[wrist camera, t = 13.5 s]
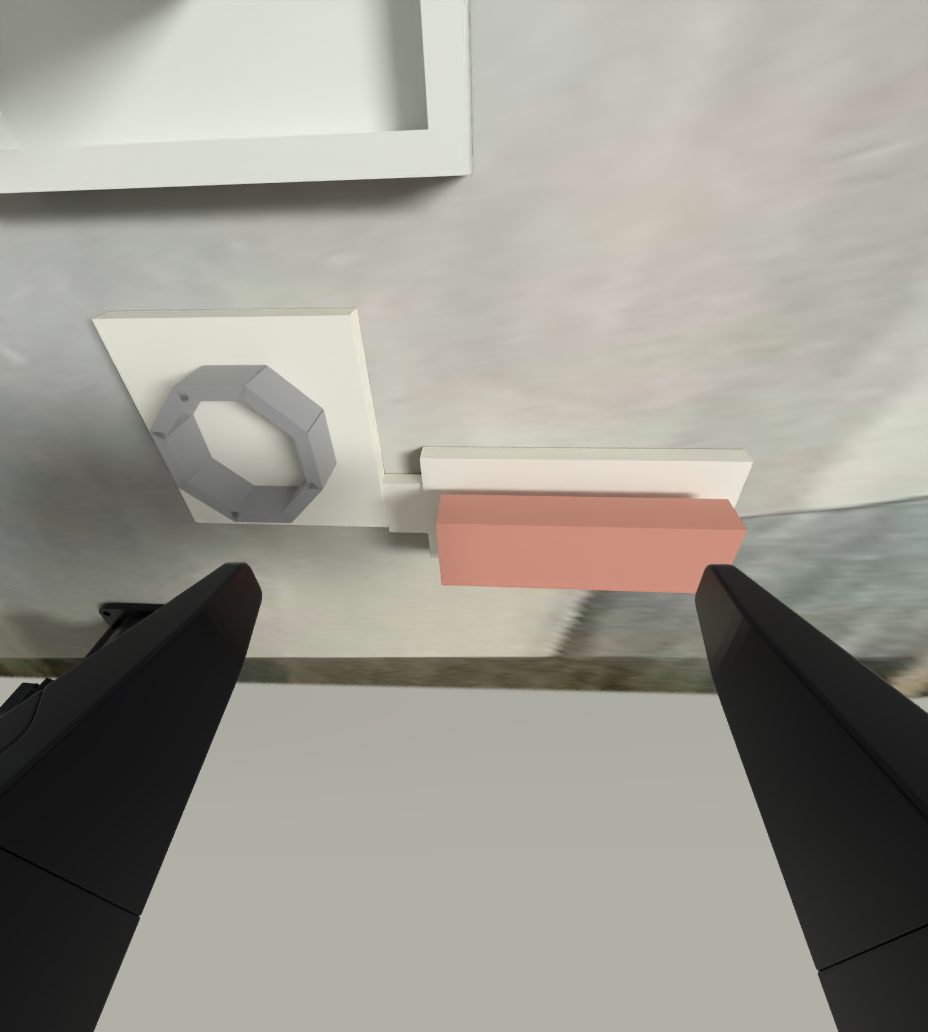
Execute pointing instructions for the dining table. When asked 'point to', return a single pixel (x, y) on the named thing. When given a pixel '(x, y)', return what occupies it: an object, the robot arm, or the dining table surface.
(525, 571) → the bar
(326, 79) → the white rectangular tray
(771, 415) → the dining table surface
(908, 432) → the dining table surface
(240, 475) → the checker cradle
